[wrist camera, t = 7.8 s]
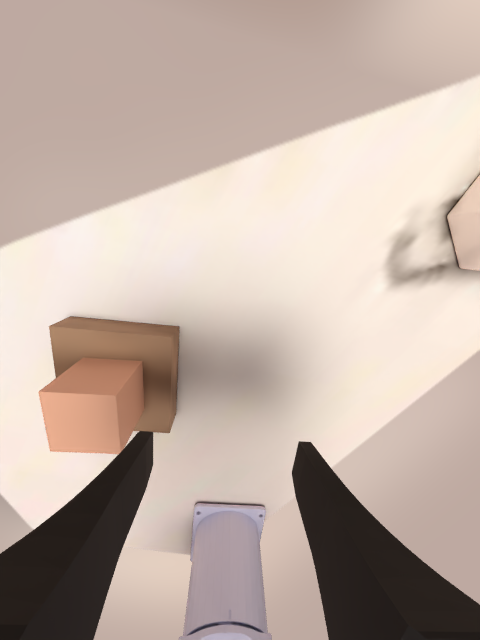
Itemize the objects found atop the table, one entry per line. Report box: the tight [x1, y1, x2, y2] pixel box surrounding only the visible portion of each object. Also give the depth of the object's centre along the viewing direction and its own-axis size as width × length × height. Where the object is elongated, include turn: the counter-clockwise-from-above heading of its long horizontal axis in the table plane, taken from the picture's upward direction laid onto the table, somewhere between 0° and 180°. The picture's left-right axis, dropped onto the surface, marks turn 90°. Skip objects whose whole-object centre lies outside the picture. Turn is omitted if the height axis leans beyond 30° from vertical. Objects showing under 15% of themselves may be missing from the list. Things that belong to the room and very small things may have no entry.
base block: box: [49, 317, 179, 433], centre depth 21 cm, size 9×9×2 cm
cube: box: [39, 358, 144, 454], centre depth 17 cm, size 4×4×4 cm
